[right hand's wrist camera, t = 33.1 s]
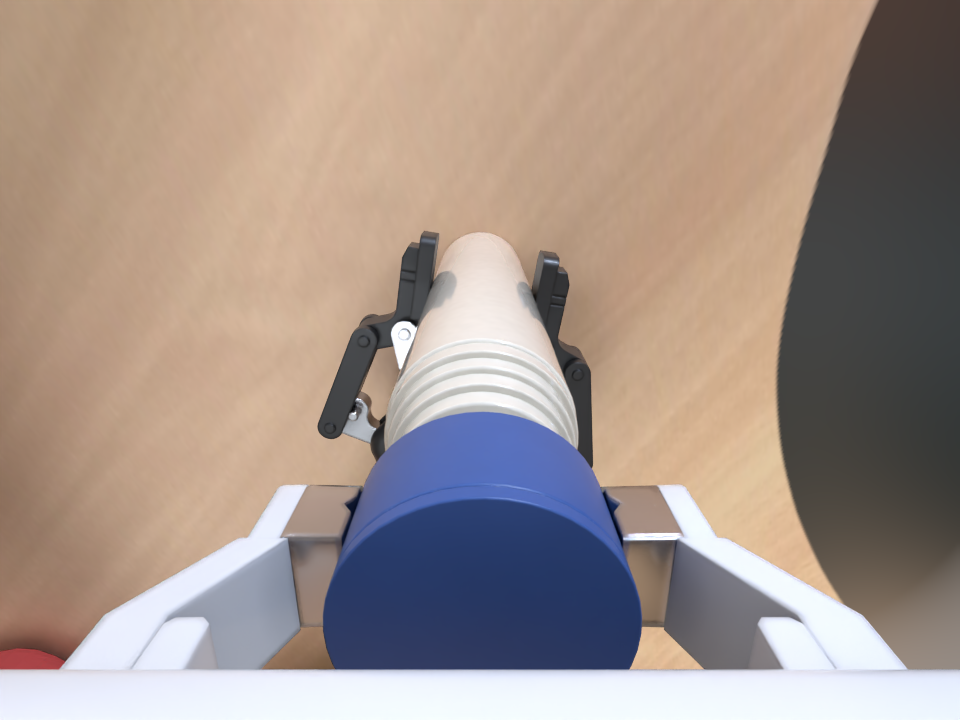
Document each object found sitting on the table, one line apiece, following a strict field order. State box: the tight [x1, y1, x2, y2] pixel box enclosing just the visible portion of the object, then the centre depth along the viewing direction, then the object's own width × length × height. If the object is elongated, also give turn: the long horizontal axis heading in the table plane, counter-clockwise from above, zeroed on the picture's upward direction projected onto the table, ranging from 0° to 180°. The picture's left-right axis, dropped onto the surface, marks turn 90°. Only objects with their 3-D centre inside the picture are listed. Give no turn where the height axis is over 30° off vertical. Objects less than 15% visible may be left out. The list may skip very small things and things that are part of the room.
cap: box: [323, 412, 642, 670], centre depth 9 cm, size 4×4×3 cm
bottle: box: [384, 232, 578, 451], centre depth 20 cm, size 5×5×25 cm
